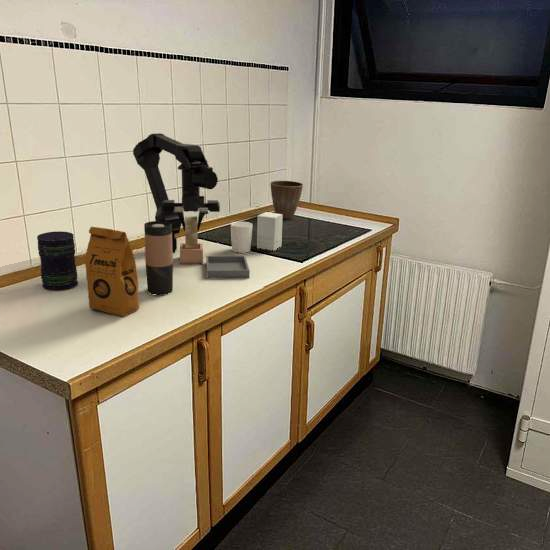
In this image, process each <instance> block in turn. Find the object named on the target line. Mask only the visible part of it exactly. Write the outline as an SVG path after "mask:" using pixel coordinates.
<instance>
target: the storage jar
mask: <svg viewBox="0 0 550 550" xmlns="http://www.w3.org/2000/svg"><path fill="white" fill-rule="evenodd" d="M36 240H37V249H38V256H39V259H40V266H41V268H40V278H41V283H42V286H41V287H42V289H44V290H45V291H50V292H51V291H52V292H62V291H68V290H71V289H74V288H76V287H77V286H78V284H79V282H78V271H77V265H76V258H75V256H76V255H75V254H76V250H75V249H76V248H75V247H76V244H75V237H74V234H73V233H72V232H69V231H61V230H60V231H58V230H57V231H48V232H43V233H39V234H38V235H37V236H36Z"/></svg>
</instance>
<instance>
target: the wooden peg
mask: <svg viewBox="0 0 550 550" xmlns="http://www.w3.org/2000/svg"><path fill="white" fill-rule="evenodd" d="M184 220H185V231H184V235H185V238H184V239H185V242H184V243H185V244H186V248H198V243H199V242H198V240H199V239H198V231H197V224H198V216H197V215H196V216H194V215H193V216H191V215H190V216H188V215H187V216H185V215H184Z"/></svg>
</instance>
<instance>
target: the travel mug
mask: <svg viewBox="0 0 550 550" xmlns="http://www.w3.org/2000/svg"><path fill="white" fill-rule="evenodd" d="M143 229H144V255H145V256H144V257H145V258H144V259H145V273H146V274H145V276H146V288H147V293H148V292H149V293H151V294H150V295H152V294H156V295H155V296H165V295H164V294H167V295H169V294H168V293H170V294H171V293H172V292H173V288H174V287H173V286H174V285H173V284H174V276H173V275H174V257H173V256H174V255H173V254H174V253H173V250H172V224H171V223H169V222H166V221H156V220H153V221H152V220H151V221H147V222H146V223H144V228H143ZM149 293H148V294H149Z"/></svg>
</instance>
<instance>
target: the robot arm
mask: <svg viewBox="0 0 550 550" xmlns="http://www.w3.org/2000/svg"><path fill="white" fill-rule="evenodd" d="M163 151H164V152H167V153H169V154H171V155H173V156H174V158H175V160H177V161H178V162H179V163H180V165H178V167H177V170H180V171H181V202H175V199H169V195H168V194H167V190H166V188H165V184H164V181H163V178H162V174H161V171H160V168H159V165H160V159H161V157H160V154H161V153H162V152H163ZM132 154H133V156H134V159H135V161H136V164H137V165H138V166H139V167H140V168H141V169H142V170H143V171H144V173H145V177H146V179H147V182H148V185H149V189H150V191H151V195H152V199H153V201H154V204H155V208H156V212H155V216H154V221H166V222H169V223H171V224H172V250H173V254H175V253H176V251H177V249H178V247H177V246H178V241H177V240H178V237H177V236H176V234H180V231H181V227H182V229H183V231H184V232H185V213H184V212H187V213H189V212H194V213H197V212H198V216H197V232H199V230H200V227H201V225H202V222H203V220H204V217H205V215H208V214H209V212H210V213H219V212H221V211H220V209H221V208H220V206H221V204H220V202H219V201H218V200H215V199H214V200H213V199H210V200H207V202H205V195H200V193H201V192H200V188H203V189H205V190H213V189H215V188H216V186H217V185H218V182H219V178H218V175H217V173H215V172H214V168H213V167H211V166H210V165H209V164H208V160H207V159H206V156H205V154H204V152H203V150H202V147H201V146H200V145H199V144H198V145H197V144H191V143H190V144H188V143H182V142H180V141H178V140H175V139H173V138H171V137H170V136H169V137H168V136H167V135H165V134H164V133H159V132H158V133H151V134H149V135H148V136H147V137H146V138H144V139H143V140H140V141H139V142H138V143H137V144H136V145H135V146H134V148H133V150H132Z"/></svg>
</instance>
